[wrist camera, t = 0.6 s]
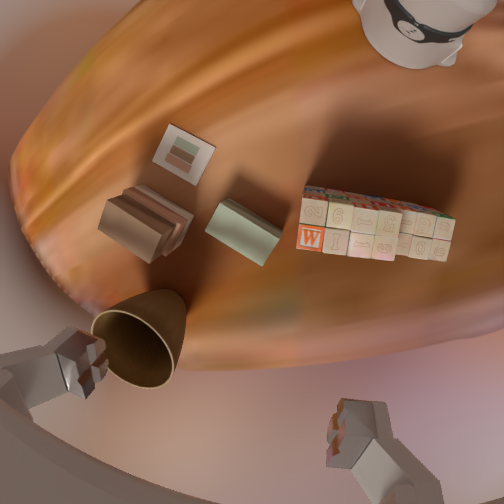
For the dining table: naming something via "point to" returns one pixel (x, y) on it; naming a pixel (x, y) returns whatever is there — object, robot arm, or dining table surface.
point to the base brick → (163, 212)
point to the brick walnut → (136, 227)
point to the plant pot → (143, 337)
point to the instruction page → (183, 154)
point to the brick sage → (243, 231)
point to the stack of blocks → (371, 226)
